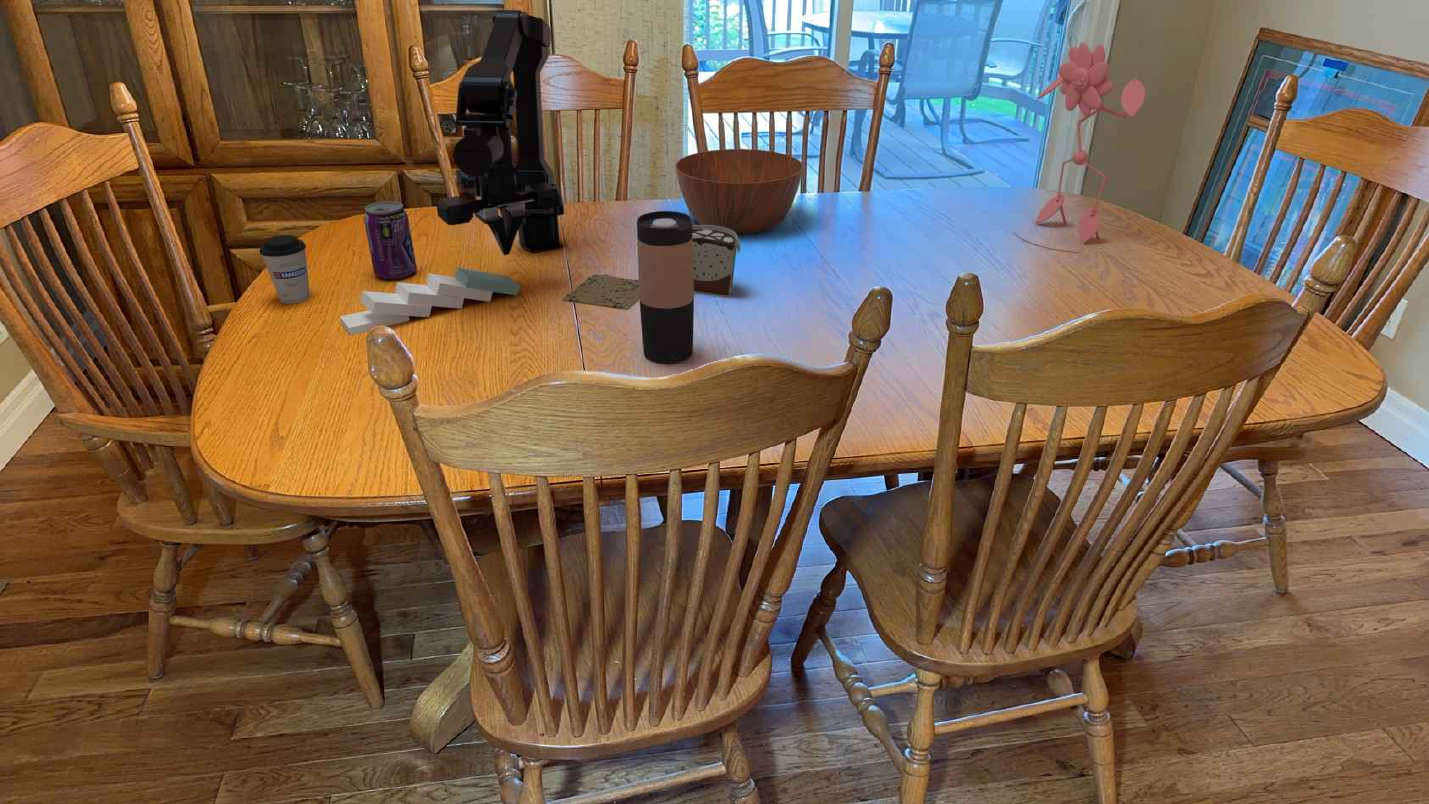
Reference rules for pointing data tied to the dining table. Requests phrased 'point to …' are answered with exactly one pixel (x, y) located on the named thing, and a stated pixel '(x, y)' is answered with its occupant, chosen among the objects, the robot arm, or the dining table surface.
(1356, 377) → the dining table surface
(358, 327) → the domino
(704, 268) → the food container
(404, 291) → the domino
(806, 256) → the dining table surface
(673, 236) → the travel mug
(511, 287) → the domino
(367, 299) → the domino
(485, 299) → the domino
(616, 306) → the speckled square tile
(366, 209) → the beverage can
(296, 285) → the coffee cup
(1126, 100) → the figurine
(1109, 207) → the dining table surface
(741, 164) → the bowl
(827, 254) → the dining table surface
